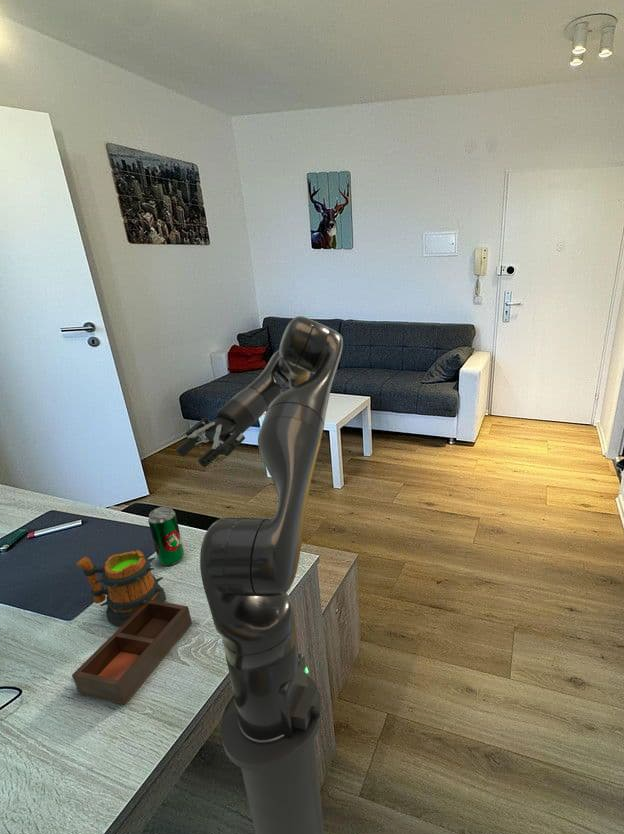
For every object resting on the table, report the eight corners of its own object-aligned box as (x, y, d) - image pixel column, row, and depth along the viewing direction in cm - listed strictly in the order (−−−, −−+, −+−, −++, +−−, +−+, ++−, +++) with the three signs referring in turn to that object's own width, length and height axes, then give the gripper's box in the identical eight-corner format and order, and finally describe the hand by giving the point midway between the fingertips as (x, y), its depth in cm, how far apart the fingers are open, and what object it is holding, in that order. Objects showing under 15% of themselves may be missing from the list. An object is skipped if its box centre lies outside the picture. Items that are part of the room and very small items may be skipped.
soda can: (161, 554, 95) (149, 507, 91) (186, 549, 97) (176, 503, 92) (156, 568, 91) (144, 521, 86) (183, 564, 92) (172, 516, 88)
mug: (176, 585, 86) (165, 537, 81) (152, 626, 76) (138, 575, 72) (108, 588, 85) (92, 540, 81) (75, 630, 76) (56, 578, 71)
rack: (192, 623, 78) (188, 606, 76) (125, 704, 64) (118, 685, 62) (153, 616, 79) (148, 599, 78) (79, 694, 65) (71, 675, 64)
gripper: (270, 428, 101) (217, 479, 92) (233, 415, 108) (181, 461, 100) (255, 404, 96) (198, 456, 87) (217, 392, 103) (161, 439, 95)
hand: (189, 459), depth 93 cm, fingers open, 8 cm apart
